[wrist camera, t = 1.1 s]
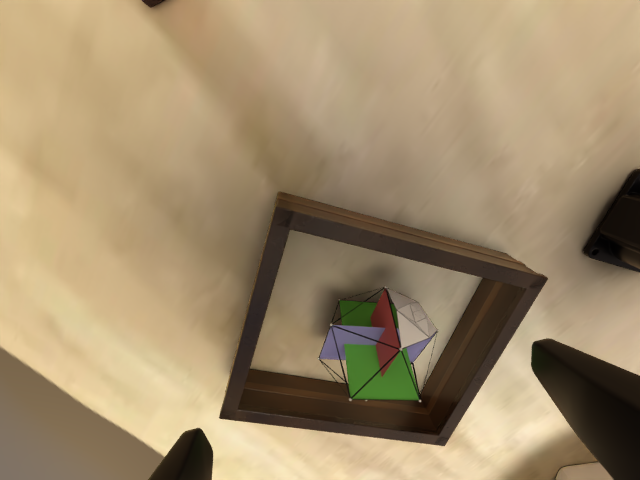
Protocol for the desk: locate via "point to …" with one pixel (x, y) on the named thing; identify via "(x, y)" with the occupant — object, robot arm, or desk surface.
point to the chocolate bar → (151, 2)
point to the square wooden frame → (329, 398)
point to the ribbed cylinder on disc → (584, 472)
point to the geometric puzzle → (379, 346)
